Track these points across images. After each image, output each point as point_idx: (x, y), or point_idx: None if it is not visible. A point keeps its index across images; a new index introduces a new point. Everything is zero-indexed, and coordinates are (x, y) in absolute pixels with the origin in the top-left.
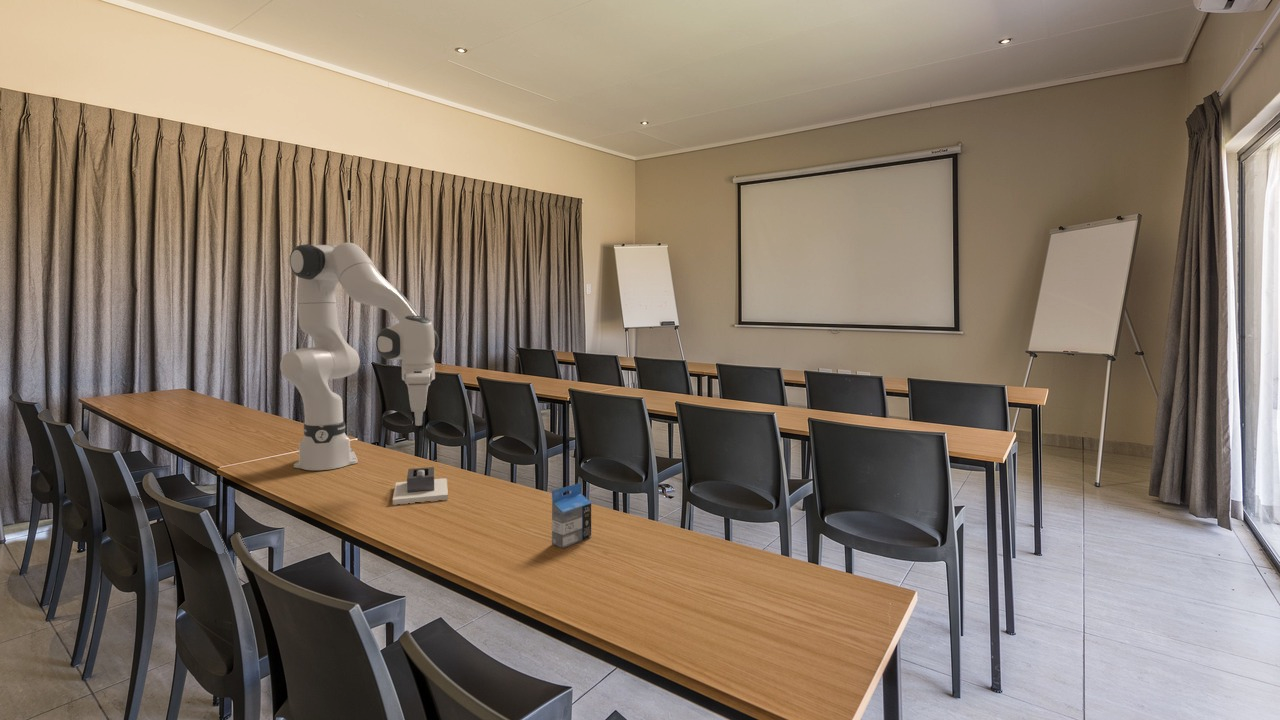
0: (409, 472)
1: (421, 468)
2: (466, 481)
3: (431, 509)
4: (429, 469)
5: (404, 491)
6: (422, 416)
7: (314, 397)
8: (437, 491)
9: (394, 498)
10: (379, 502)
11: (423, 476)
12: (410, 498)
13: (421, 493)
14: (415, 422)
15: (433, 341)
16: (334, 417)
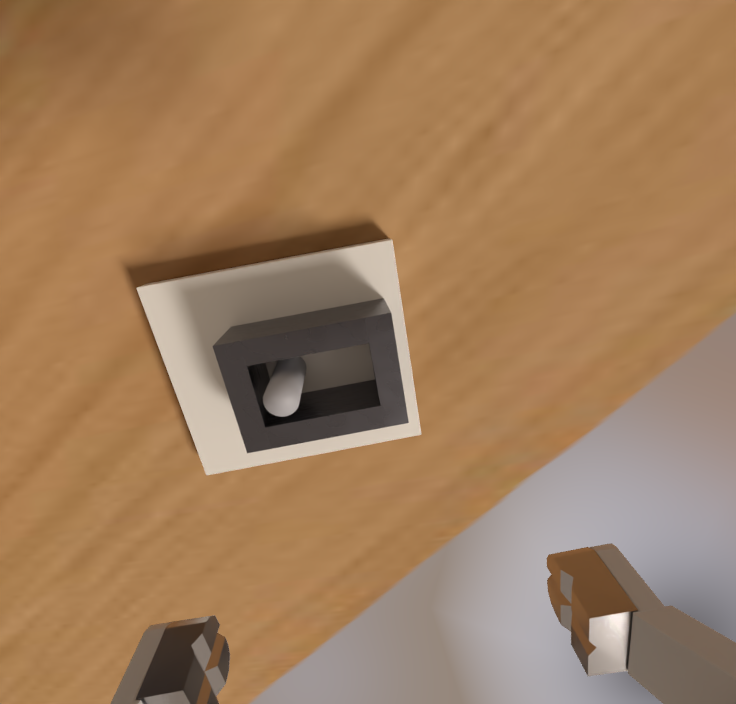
0: (323, 333)
1: (390, 373)
2: (427, 483)
3: (107, 430)
4: (365, 413)
5: (249, 310)
6: (561, 622)
7: None
8: None
9: (152, 291)
10: (182, 217)
11: (247, 411)
12: (161, 353)
13: (220, 383)
14: (132, 659)
15: None
16: None
